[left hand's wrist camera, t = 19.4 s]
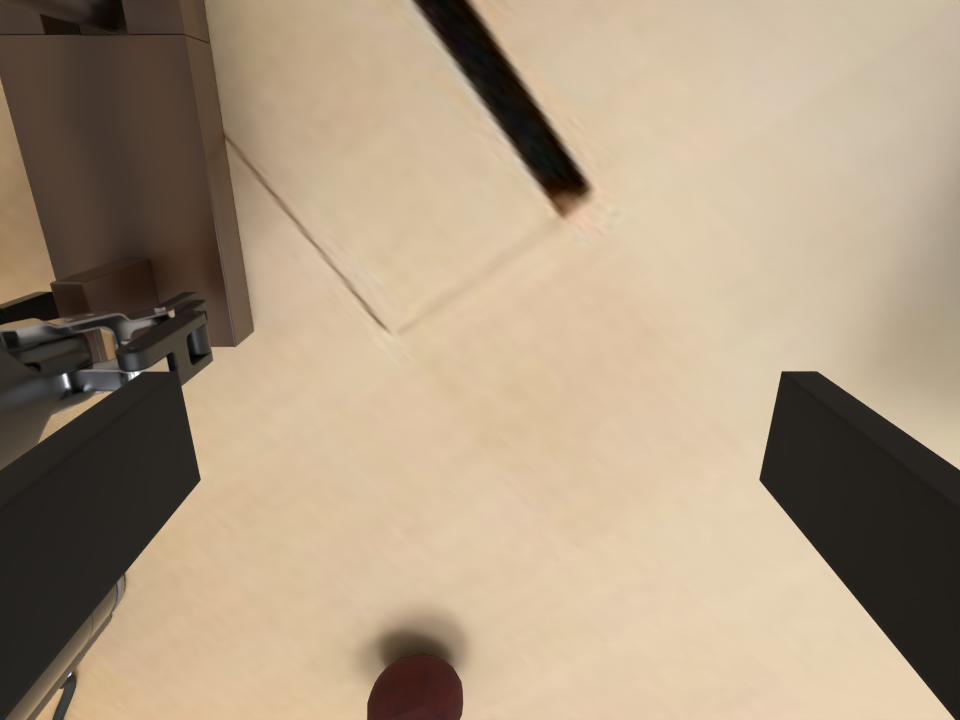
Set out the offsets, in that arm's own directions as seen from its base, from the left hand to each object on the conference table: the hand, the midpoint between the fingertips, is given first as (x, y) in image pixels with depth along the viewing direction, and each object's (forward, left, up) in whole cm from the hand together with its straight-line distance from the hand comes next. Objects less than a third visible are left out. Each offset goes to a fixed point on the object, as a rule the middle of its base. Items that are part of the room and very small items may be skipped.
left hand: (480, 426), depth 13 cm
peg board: (+20, -6, -25) cm, 32 cm away
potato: (+5, +36, -25) cm, 44 cm away
